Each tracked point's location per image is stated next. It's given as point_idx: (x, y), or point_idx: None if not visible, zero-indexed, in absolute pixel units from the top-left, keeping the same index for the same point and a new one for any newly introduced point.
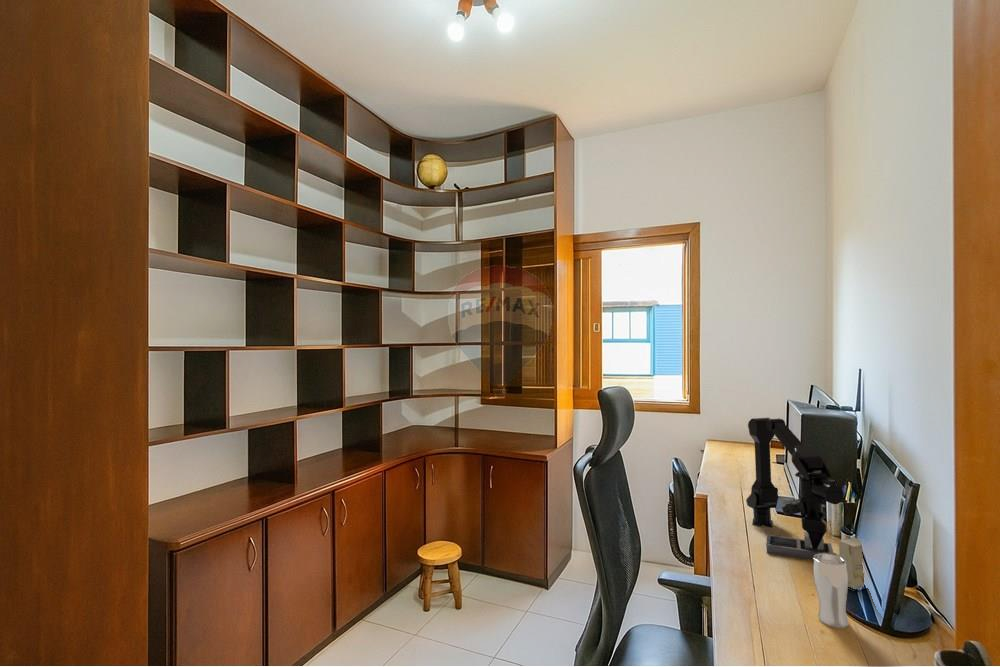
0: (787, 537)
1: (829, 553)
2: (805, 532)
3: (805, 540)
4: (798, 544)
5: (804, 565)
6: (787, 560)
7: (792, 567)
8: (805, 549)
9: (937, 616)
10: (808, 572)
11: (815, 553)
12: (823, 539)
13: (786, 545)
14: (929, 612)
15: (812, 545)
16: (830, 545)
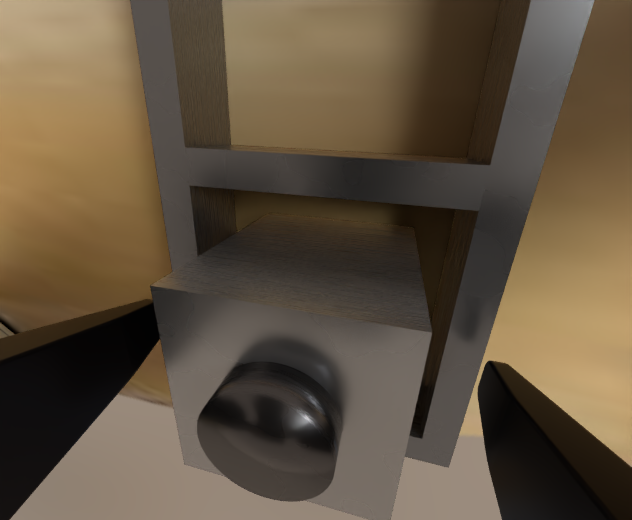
0: (575, 20)
1: None
2: (381, 345)
3: (186, 272)
4: (313, 174)
5: (98, 180)
6: (109, 49)
7: (16, 90)
8: (244, 229)
9: None
10: (18, 192)
11: None
12: (193, 466)
13: (496, 34)
14: None
15: (110, 313)
16: None
